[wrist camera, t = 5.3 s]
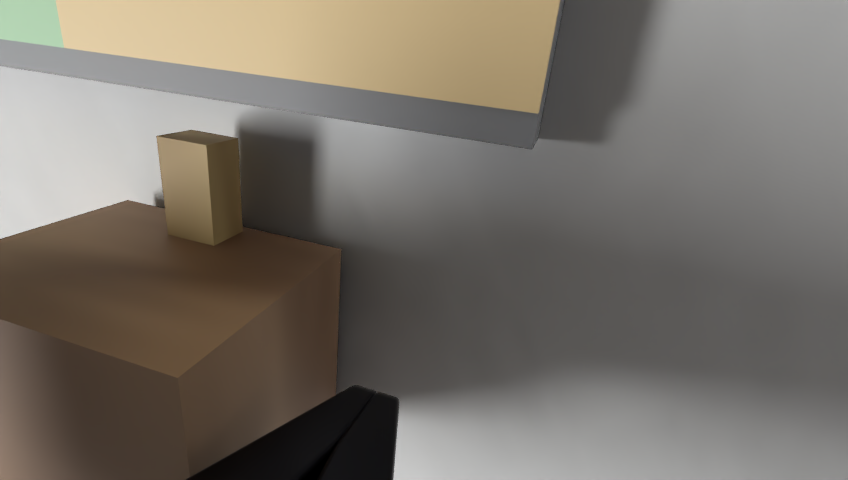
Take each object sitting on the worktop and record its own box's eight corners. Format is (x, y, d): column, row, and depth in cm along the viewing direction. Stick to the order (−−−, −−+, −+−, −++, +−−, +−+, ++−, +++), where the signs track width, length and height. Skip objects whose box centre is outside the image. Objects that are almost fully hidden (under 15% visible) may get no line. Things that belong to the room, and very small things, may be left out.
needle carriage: (344, 154, 8) (158, 226, 4) (334, 415, 10) (205, 602, 7) (114, 113, 9) (-177, 146, 6) (150, 355, 11) (-44, 487, 8)
